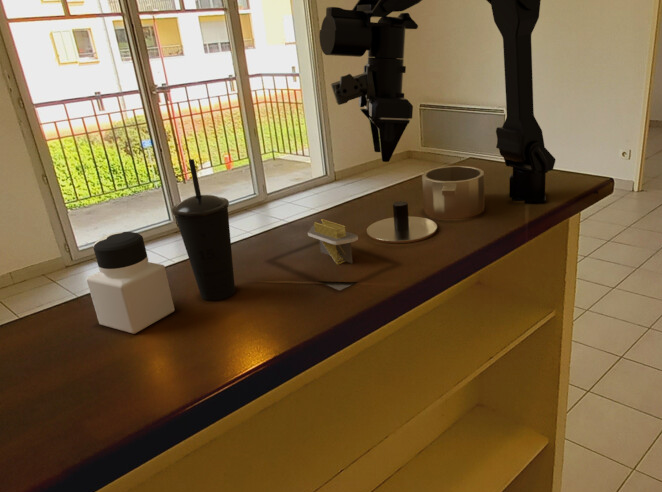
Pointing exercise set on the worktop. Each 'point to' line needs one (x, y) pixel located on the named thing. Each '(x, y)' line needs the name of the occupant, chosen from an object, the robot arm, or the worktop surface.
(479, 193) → the pot
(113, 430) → the worktop surface
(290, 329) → the worktop surface
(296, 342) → the worktop surface
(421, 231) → the lid
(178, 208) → the drinking cup
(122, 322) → the medicine bottle
